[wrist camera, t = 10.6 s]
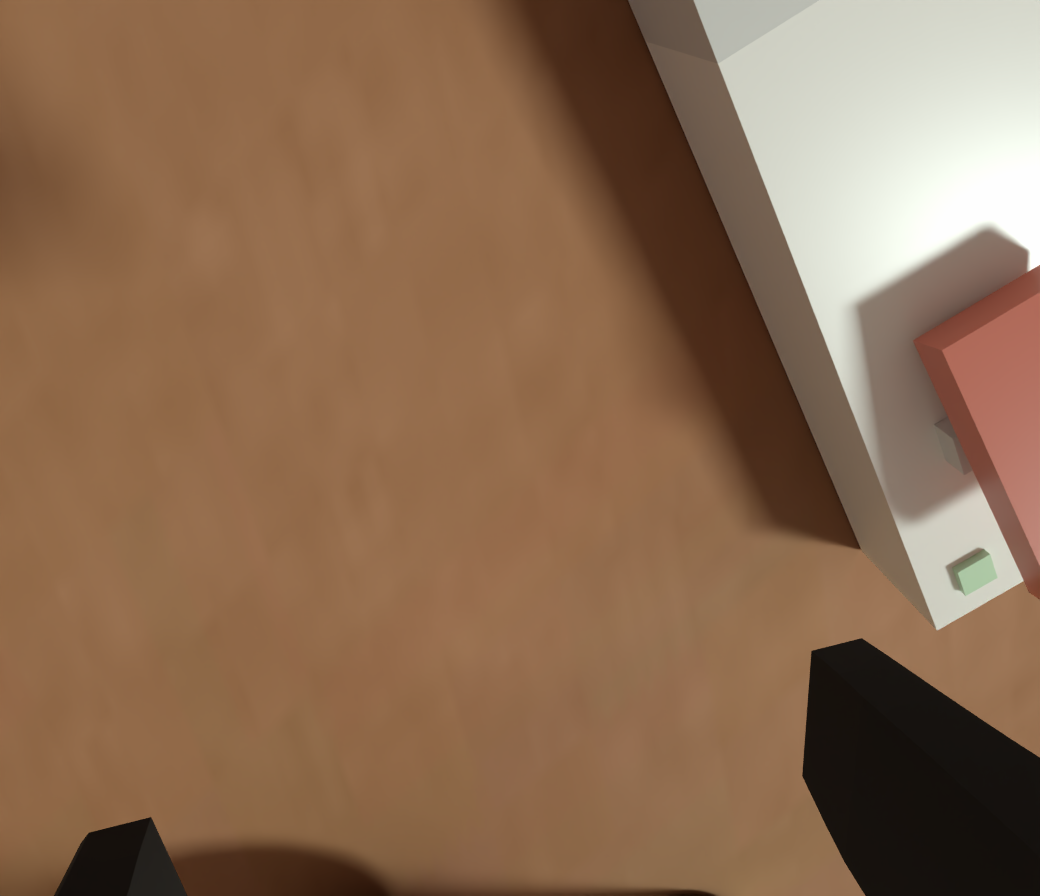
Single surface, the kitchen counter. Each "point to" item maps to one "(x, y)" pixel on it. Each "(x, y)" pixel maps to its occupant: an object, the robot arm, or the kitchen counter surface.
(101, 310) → the kitchen counter surface
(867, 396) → the power strip
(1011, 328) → the rocker switch
